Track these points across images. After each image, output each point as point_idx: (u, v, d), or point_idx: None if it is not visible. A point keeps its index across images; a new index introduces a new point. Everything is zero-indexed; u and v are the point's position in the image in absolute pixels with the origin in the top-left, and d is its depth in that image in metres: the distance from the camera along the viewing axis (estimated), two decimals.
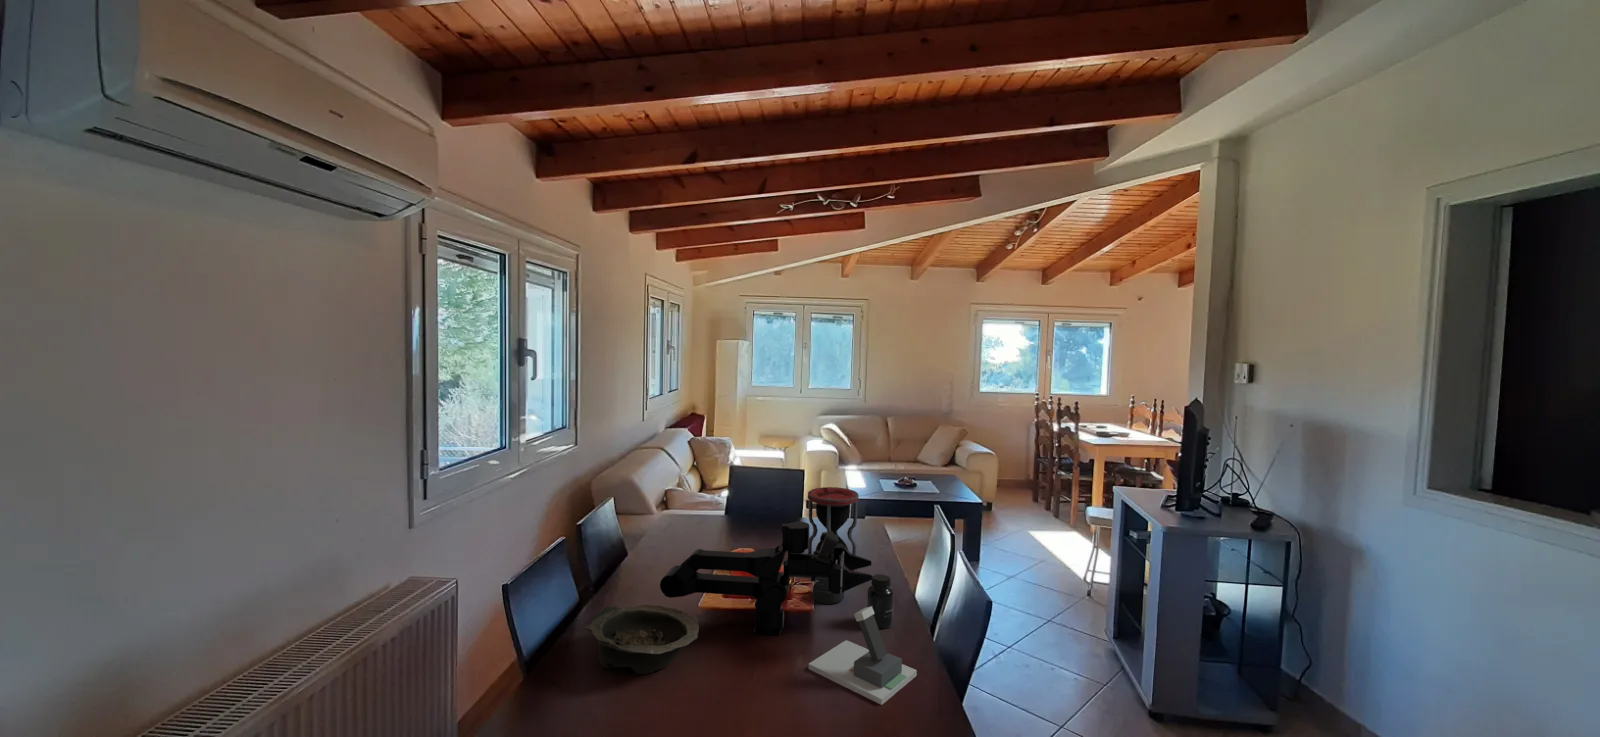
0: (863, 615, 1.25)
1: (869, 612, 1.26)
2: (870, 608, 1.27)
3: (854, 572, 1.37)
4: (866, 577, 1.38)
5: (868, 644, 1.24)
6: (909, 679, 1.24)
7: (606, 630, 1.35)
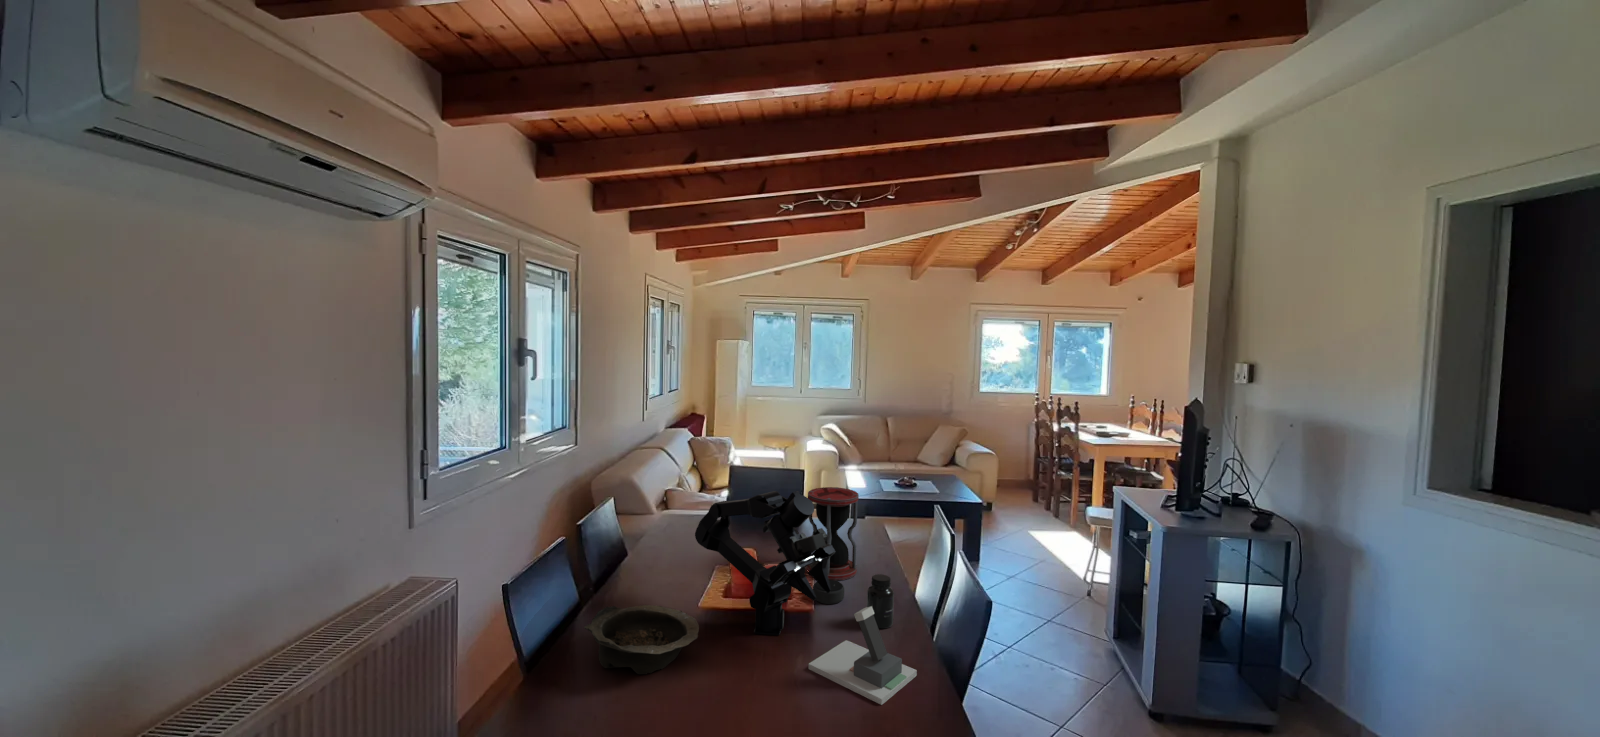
0: (863, 615, 1.25)
1: (869, 612, 1.26)
2: (870, 608, 1.27)
3: (805, 581, 1.33)
4: (810, 594, 1.32)
5: (868, 644, 1.24)
6: (909, 679, 1.24)
7: (606, 630, 1.35)
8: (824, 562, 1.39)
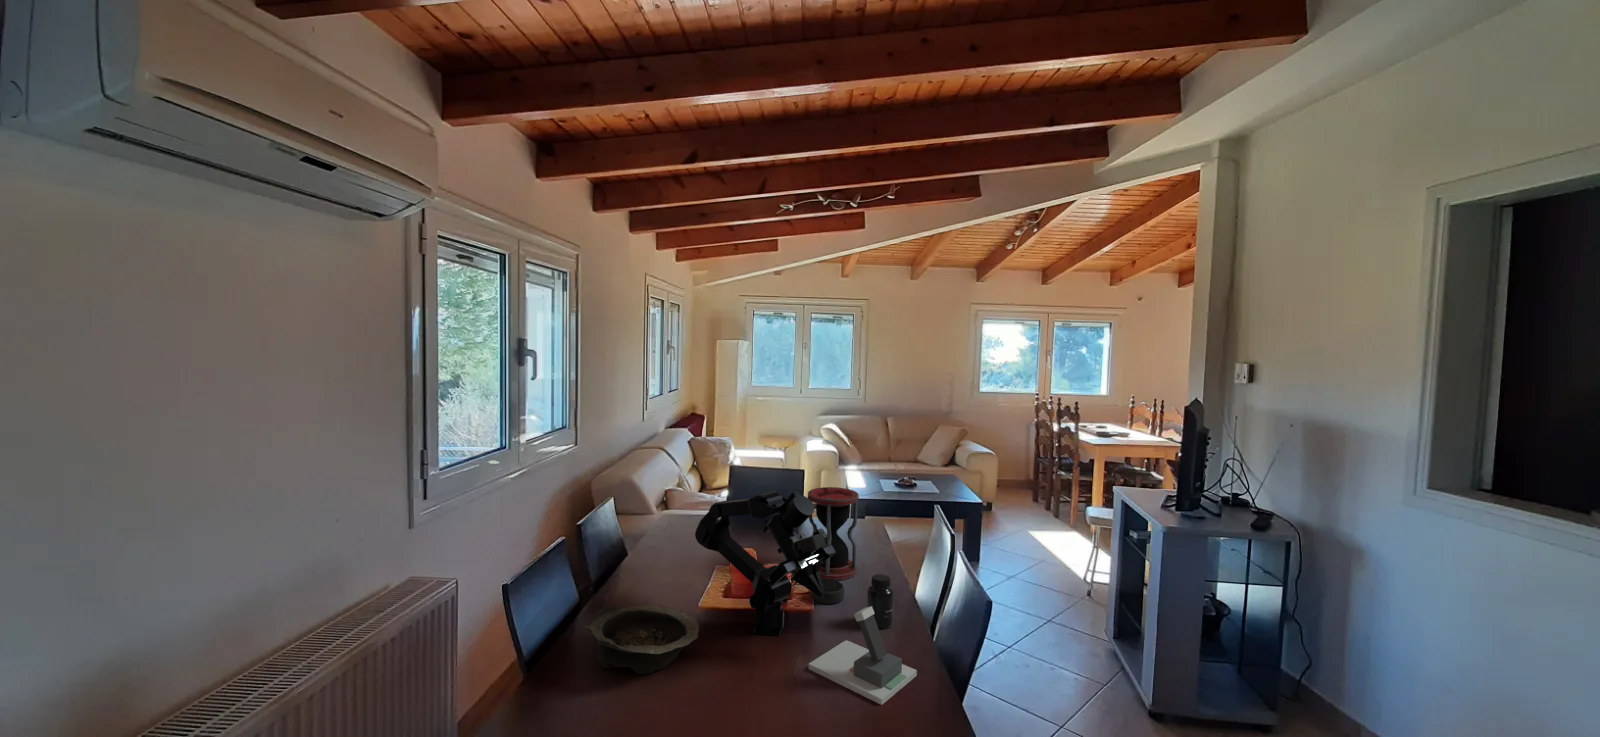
0: (863, 615, 1.25)
1: (869, 612, 1.26)
2: (870, 608, 1.27)
3: (812, 578, 1.35)
4: (817, 591, 1.34)
5: (868, 644, 1.24)
6: (909, 679, 1.24)
7: (606, 630, 1.35)
8: (817, 565, 1.37)
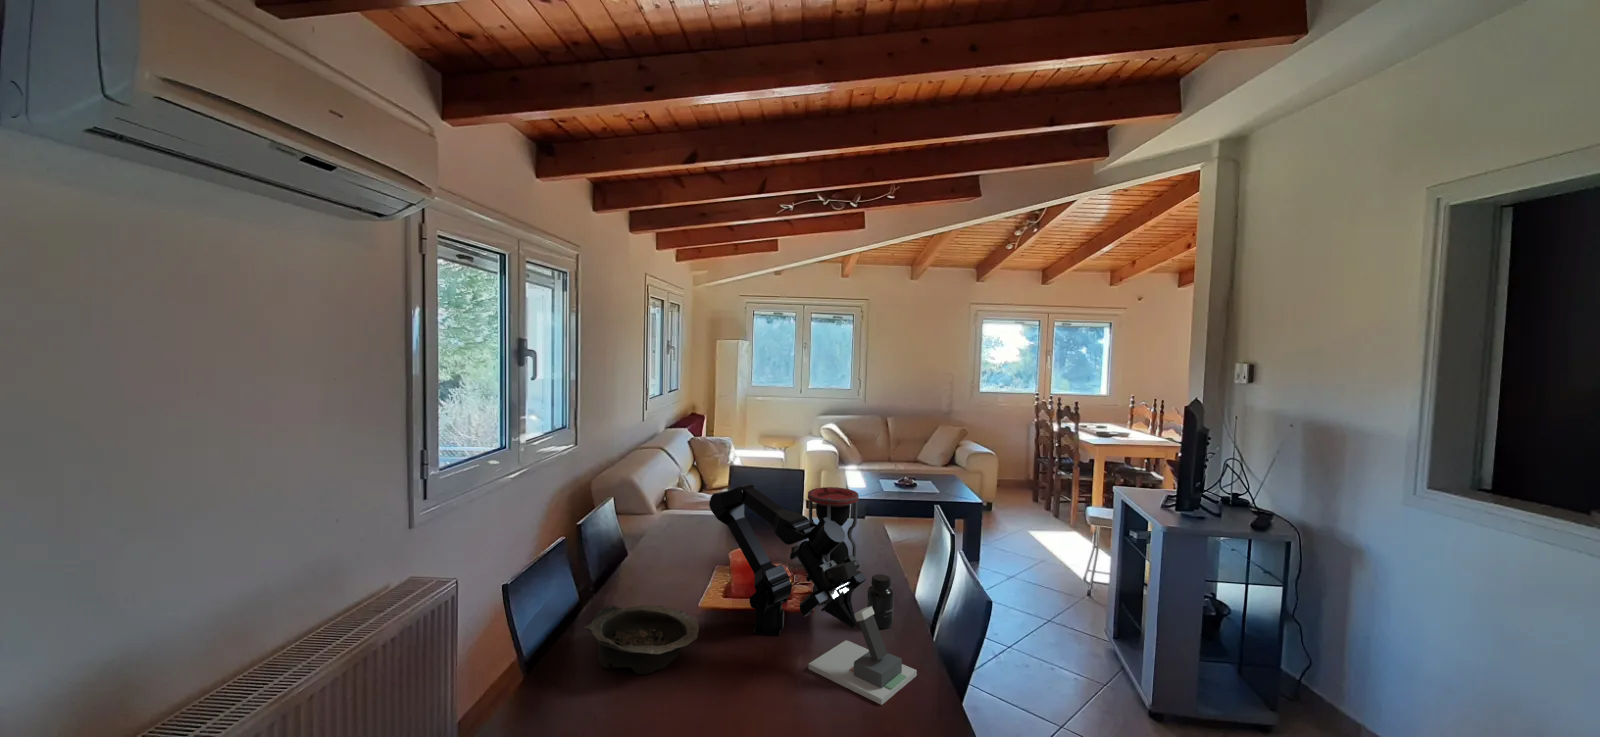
0: (863, 615, 1.25)
1: (869, 612, 1.26)
2: (870, 608, 1.27)
3: (844, 608, 1.29)
4: (849, 622, 1.28)
5: (868, 644, 1.24)
6: (909, 679, 1.24)
7: (606, 630, 1.35)
8: (849, 594, 1.31)
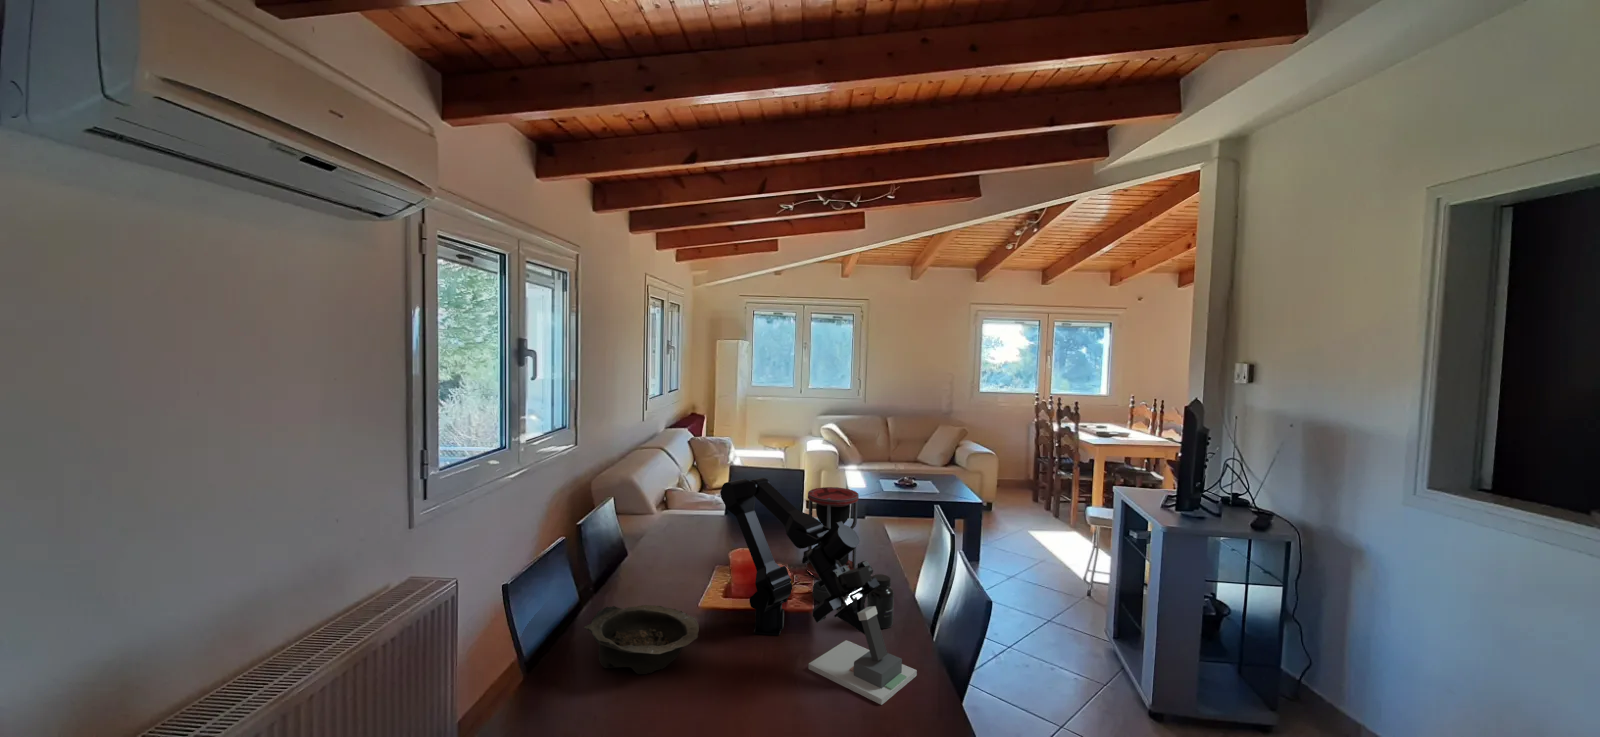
0: (866, 615, 1.24)
1: (872, 612, 1.26)
2: (874, 608, 1.27)
3: (857, 615, 1.26)
4: (863, 629, 1.26)
5: (869, 644, 1.24)
6: (909, 679, 1.24)
7: (606, 630, 1.35)
8: (862, 600, 1.29)
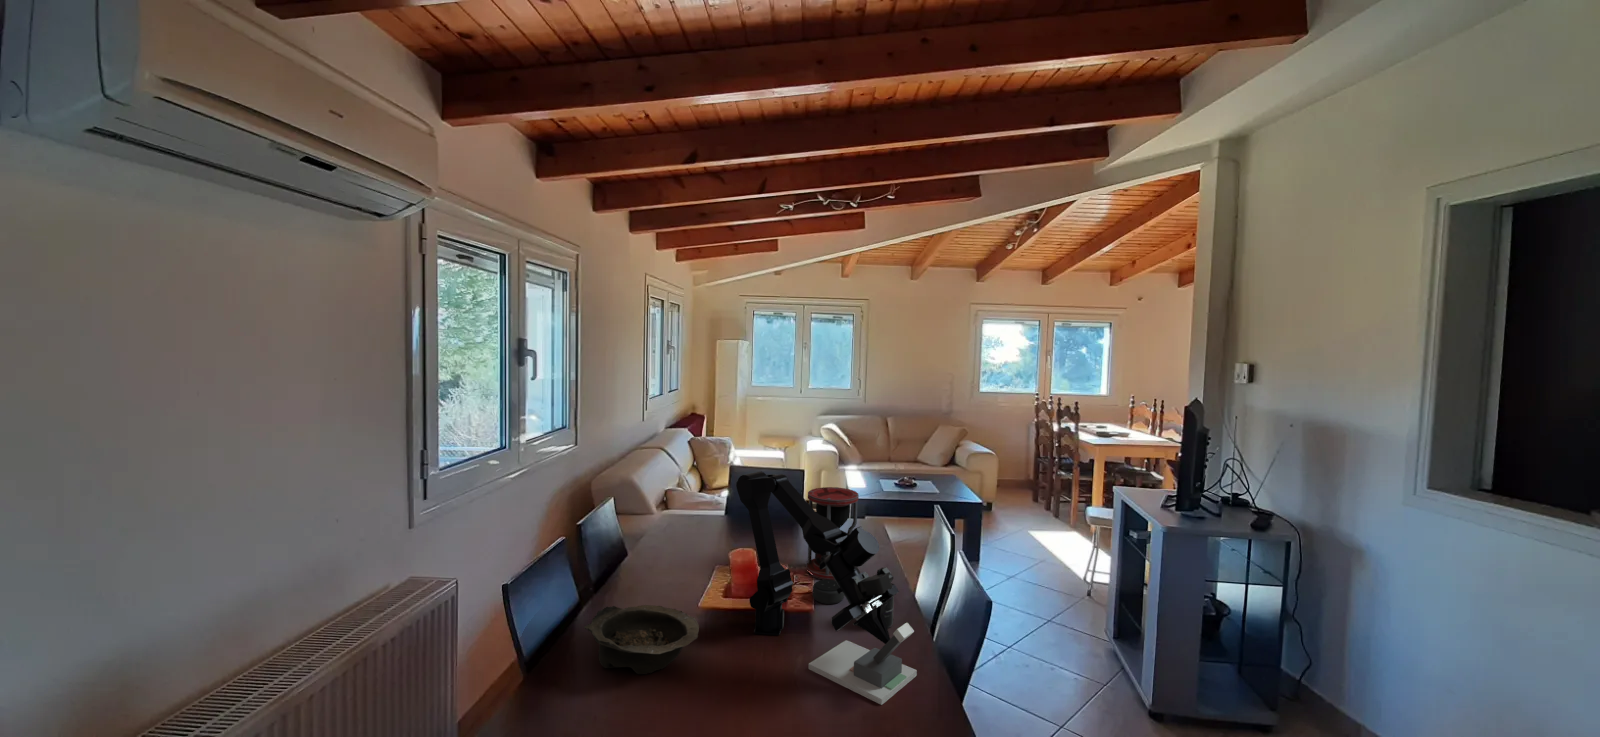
0: (903, 640, 1.19)
1: (908, 636, 1.20)
2: (911, 633, 1.21)
3: (877, 623, 1.23)
4: (883, 638, 1.23)
5: (883, 650, 1.22)
6: (909, 679, 1.24)
7: (606, 630, 1.35)
8: (882, 608, 1.25)
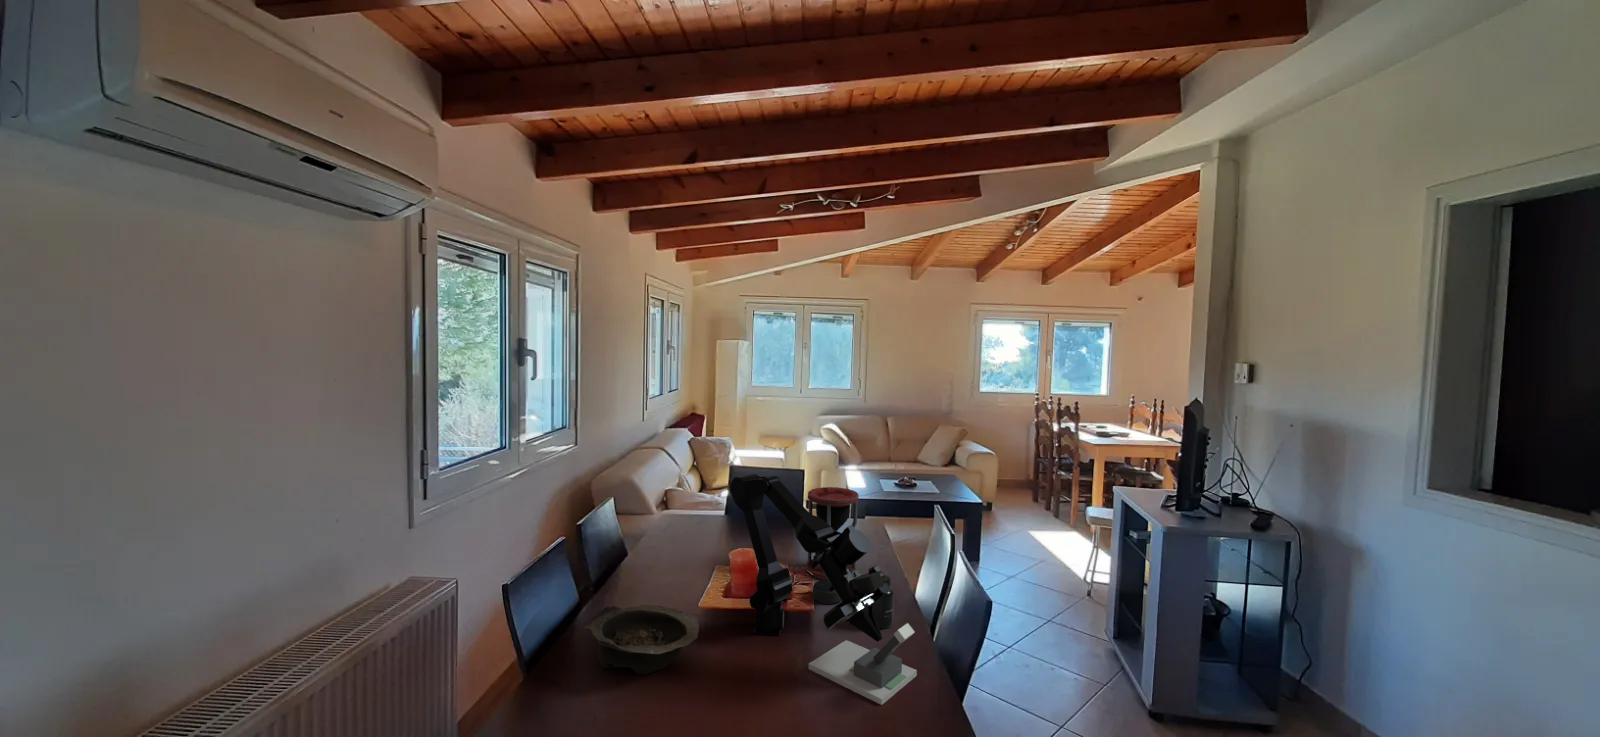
0: (903, 640, 1.18)
1: (908, 637, 1.20)
2: (912, 634, 1.20)
3: (869, 621, 1.24)
4: (874, 635, 1.24)
5: (883, 650, 1.22)
6: (909, 679, 1.24)
7: (606, 630, 1.35)
8: (874, 606, 1.27)
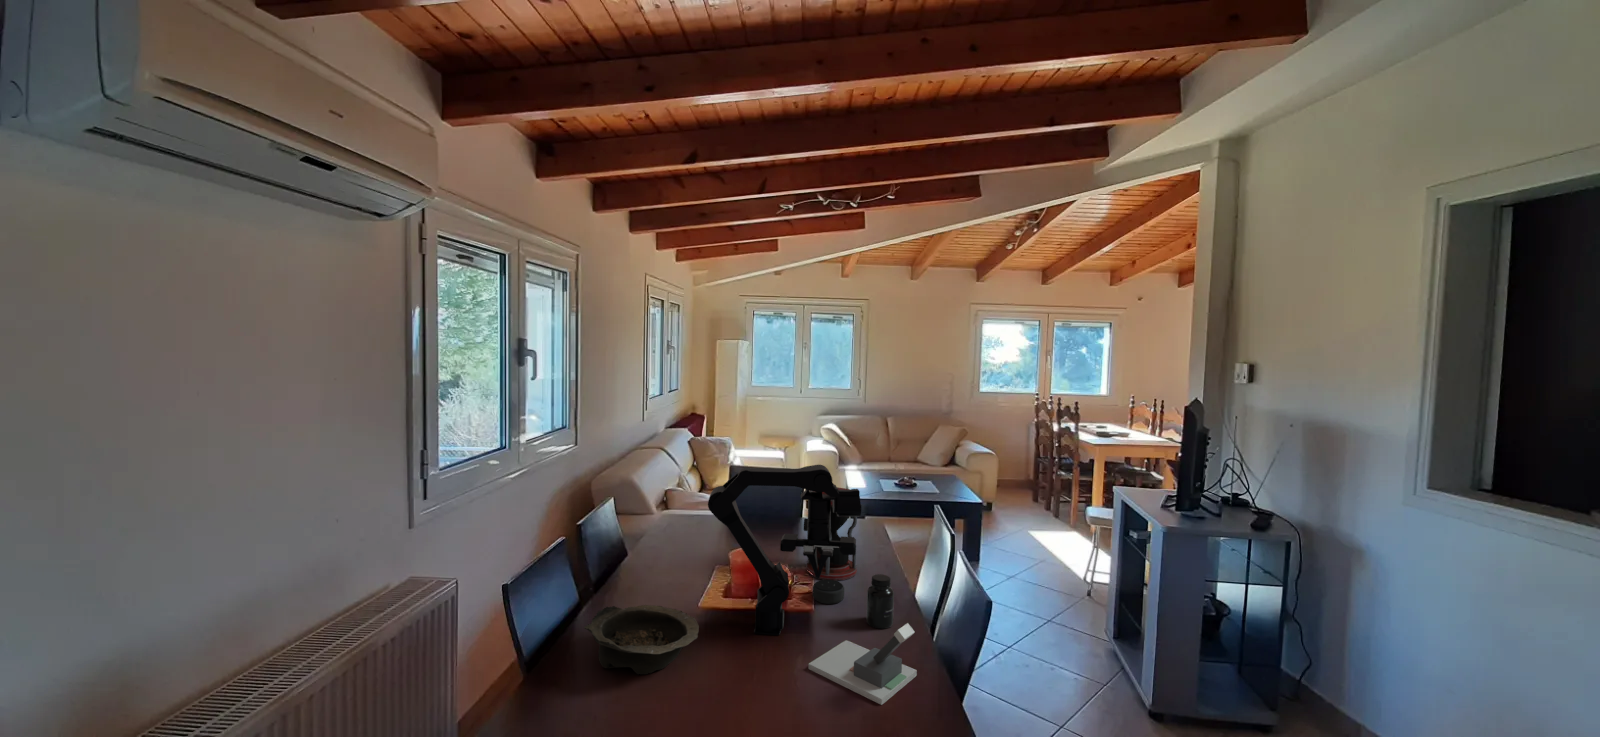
0: (903, 640, 1.18)
1: (908, 637, 1.20)
2: (912, 634, 1.20)
3: None
4: None
5: (883, 650, 1.22)
6: (909, 679, 1.24)
7: (606, 630, 1.35)
8: None
